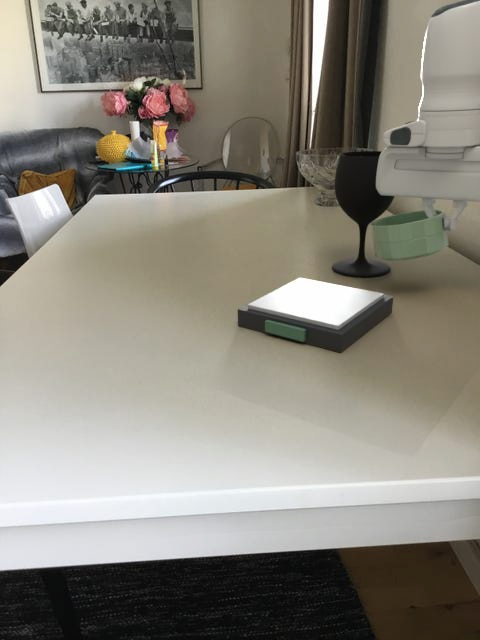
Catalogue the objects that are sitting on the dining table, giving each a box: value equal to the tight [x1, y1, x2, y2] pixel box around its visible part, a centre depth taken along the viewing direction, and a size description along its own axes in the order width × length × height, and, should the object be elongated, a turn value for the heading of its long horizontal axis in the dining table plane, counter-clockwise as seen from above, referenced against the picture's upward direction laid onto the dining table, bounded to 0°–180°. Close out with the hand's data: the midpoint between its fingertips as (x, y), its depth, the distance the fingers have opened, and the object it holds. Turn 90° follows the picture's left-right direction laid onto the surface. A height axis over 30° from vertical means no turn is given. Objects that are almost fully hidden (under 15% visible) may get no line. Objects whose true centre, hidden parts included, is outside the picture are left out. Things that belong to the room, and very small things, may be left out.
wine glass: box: [331, 150, 395, 279], centre depth 98 cm, size 10×10×20 cm
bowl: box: [369, 208, 450, 262], centre depth 87 cm, size 11×11×6 cm
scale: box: [237, 277, 394, 354], centre depth 80 cm, size 16×17×3 cm
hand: (441, 229), depth 84 cm, fingers closed on bowl
